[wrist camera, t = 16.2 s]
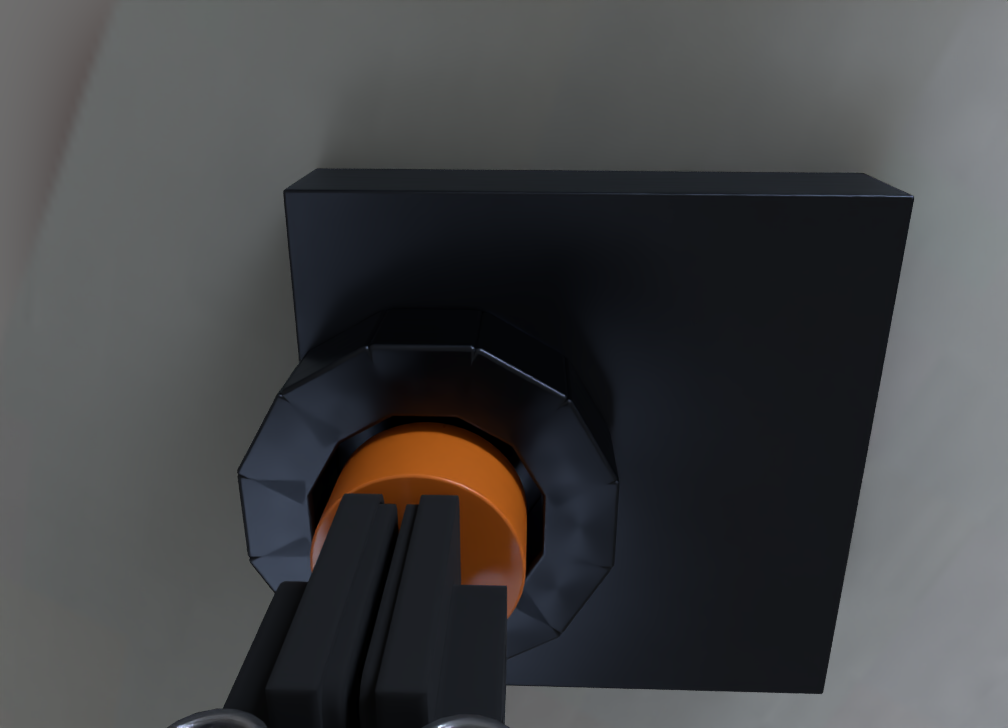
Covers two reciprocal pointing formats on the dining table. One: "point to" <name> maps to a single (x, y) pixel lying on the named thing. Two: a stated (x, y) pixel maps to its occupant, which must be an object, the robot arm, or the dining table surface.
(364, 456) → the button
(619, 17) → the dining table surface
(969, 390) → the dining table surface
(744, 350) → the button box
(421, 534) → the robot arm
